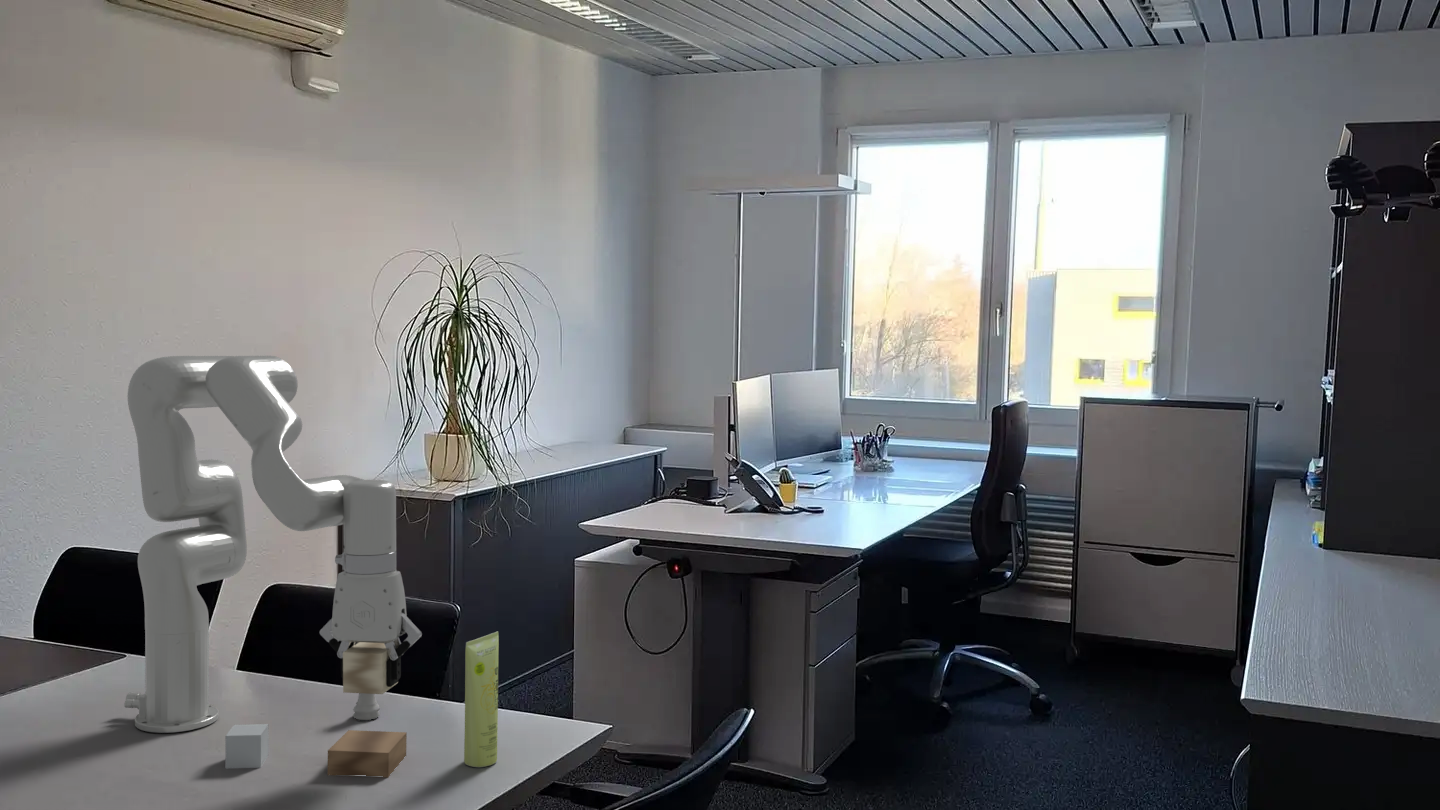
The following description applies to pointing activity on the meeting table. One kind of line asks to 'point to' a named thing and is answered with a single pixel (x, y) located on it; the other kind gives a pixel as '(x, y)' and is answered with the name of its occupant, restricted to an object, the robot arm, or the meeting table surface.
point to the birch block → (365, 668)
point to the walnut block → (367, 753)
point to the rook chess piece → (366, 707)
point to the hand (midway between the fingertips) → (370, 682)
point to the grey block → (246, 746)
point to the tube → (481, 701)
